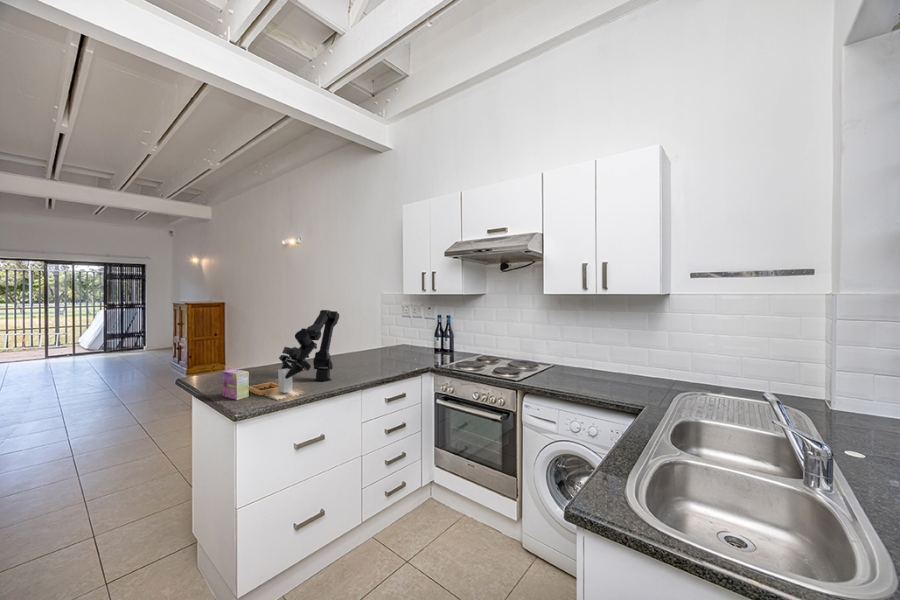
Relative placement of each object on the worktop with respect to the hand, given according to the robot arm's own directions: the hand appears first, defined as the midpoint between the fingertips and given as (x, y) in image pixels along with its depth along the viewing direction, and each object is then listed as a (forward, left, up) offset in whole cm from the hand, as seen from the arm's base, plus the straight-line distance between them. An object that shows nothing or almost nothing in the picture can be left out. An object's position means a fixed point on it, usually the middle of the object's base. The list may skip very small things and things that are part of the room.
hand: (282, 377), depth 169 cm
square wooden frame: (+1, -13, -8) cm, 16 cm away
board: (-1, 0, -8) cm, 9 cm away
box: (+15, -13, -9) cm, 21 cm away
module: (-1, 0, -7) cm, 7 cm away
